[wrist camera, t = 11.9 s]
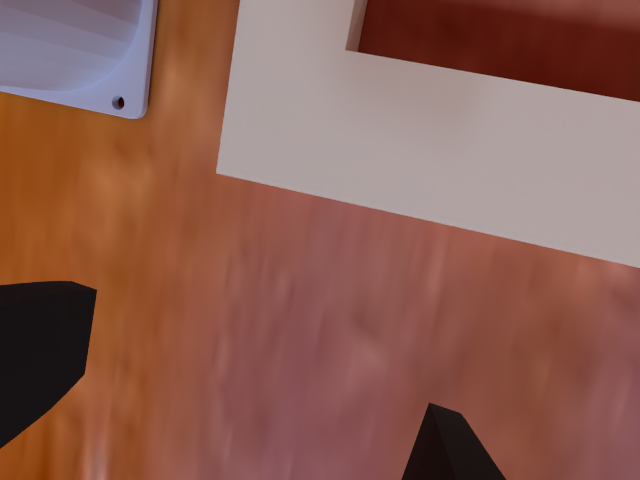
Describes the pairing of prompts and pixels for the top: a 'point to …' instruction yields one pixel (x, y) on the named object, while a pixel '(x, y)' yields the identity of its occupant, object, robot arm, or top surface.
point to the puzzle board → (427, 135)
